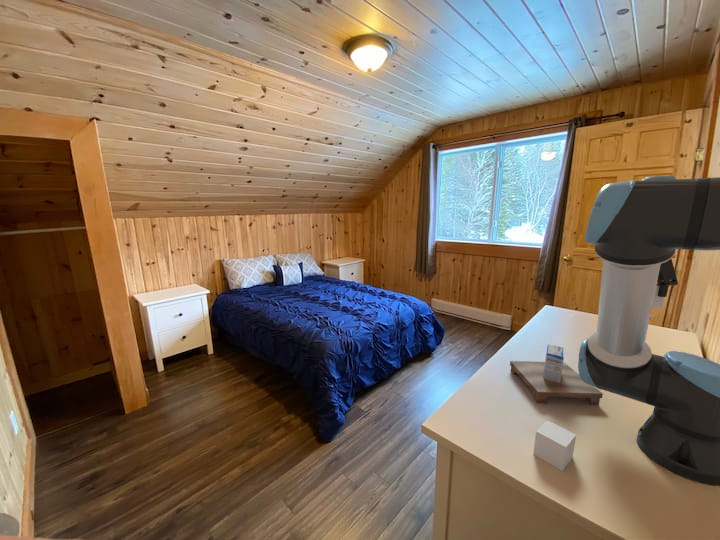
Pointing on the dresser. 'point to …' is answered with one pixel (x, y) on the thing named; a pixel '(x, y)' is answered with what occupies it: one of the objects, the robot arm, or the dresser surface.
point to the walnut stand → (554, 383)
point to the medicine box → (553, 363)
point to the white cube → (554, 444)
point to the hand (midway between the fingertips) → (635, 300)
